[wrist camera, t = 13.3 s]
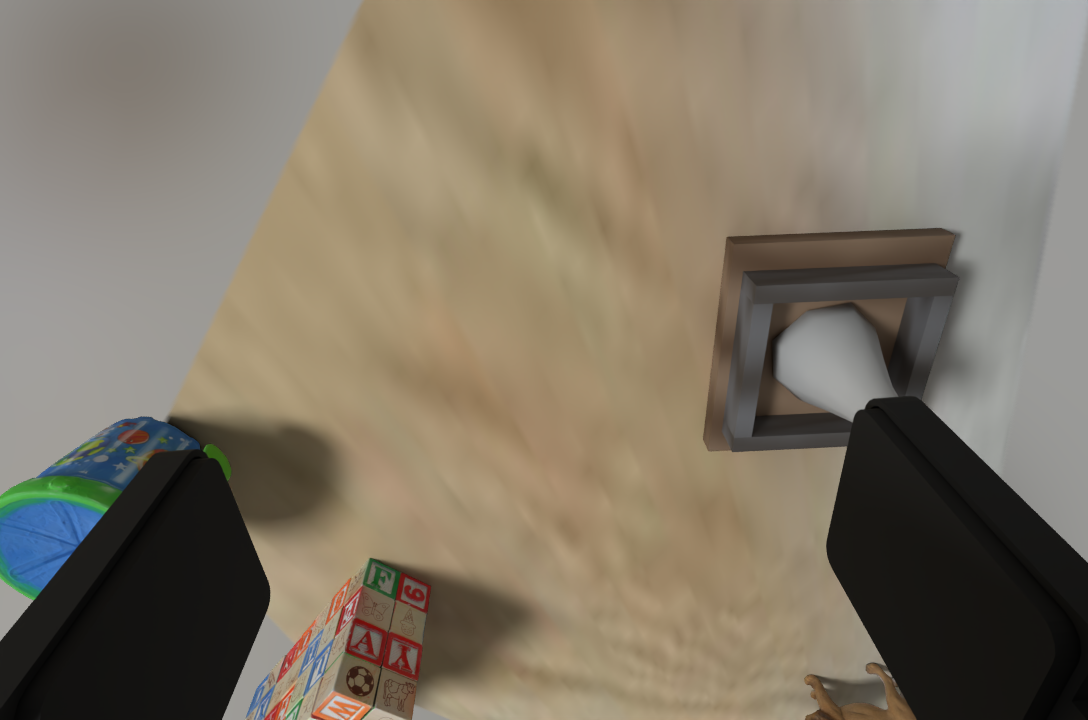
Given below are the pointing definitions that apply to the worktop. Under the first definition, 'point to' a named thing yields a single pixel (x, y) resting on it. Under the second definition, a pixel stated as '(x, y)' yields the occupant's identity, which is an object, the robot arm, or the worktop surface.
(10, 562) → the snack cup
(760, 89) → the worktop surface
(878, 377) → the flask
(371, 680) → the stack of blocks
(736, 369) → the board
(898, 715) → the lion figurine
